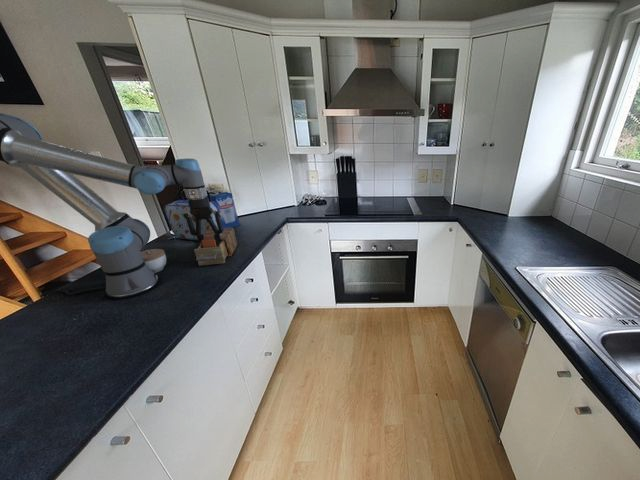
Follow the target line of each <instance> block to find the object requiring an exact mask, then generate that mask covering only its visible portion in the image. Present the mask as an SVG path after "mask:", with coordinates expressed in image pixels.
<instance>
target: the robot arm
mask: <svg viewBox="0 0 640 480" xmlns="http://www.w3.org/2000/svg"><path fill="white" fill-rule="evenodd" d="M0 162H4V163H5V164H6V165H8V166H9V167H14V168H20V169H22V170H23V171H24V172H25V173H27V174H28V175H30V177H32V178H33V179H34V180H36V181H37V182H39V184H41V185H42V186H44V187H45V188H46V189H47V190H49V191H50V192H51V193H53V194H54V195H55V196H57V197H58V198H59V199H61V201H63V202H64V203H65V204H67V205H68V206H69V207H71V208H72V209H73V210H75V211H76V212H77V213H78V214H79V215H80V216H82V217H83V218H85V219H86V220H87V221H89V223H91V224H93V225H94V232H92V233H91V234H90V235H88V238H87V243H88V244H89V248H90V250H91V251H92V253H93V255H94V257H95V259H96V261H97V262H98V265H99V266H100V268H101V270H102V272H103V275H105V285H104V286H97V287H92V288H87V289H83V290H79V291H75V292H74V291H73V292H69V290H66V289H55V290H54V289H52V290H48V291H45V292H43V293H42V294H40V296H39V297H40V298H43V297H45V296H46V295H47V294H48V295H49V294H53V293H55V292H54V291H57V290H59V291H57V292H56V293H65V294H66V295H68V296H73V295H79V294H84V293H87V292H92V291H97V290H103V289H105V293H106V295H107V297H108V298H110V299H114V300H115V299H116V300H119V299H121V300H122V299H128V298H133V297H136V296H140V295H143V294H145V293H147V292H149V291H151V290H152V289H154V288H155V287H156V286H157V285H158V284H159V283H160V280H159V277H158V275H157V274H155V273H153V272H152V271H151V270H150V269H149V268H148V267H147V266H146V264H145V262H144V260H143V257H142V255H141V253H140V252H142V250H143V248H145V246H146V245H147V244H148V242H149V241H150V238H151V230H150V227H149V226H148V225H147V223H145V222H143V221H142V220H140V219H138V218H133V217H132V216H131V215H130V214H128V213H127V212H125V211H124V212H123V211H119V210H117V209H116V208H115V207H113V206H112V205H111V204H110V203H109V202H107V201H106V200H105V199H104V198H103V197H102V196H100V195H99V194H98V193H97V192H95V190H93V189H92V188H91V187H89V185H87V184H86V183H85V182H84V181H83V180H81V179H80V177H84V178H89V179H93V180H99V181H102V182H107V183H110V184H115V185H120V186H124V187H128V188H133V189H137V191H139V192H141V193H143V194H145V195H155V194H158V193H160V192H162V191H164V189H165V188H166V187H168V186H175V185H177V186H178V185H182V188H183V191H184V194H185V198H186V200H187V201H188V204H189V207H190V212H186V213H185V214H183V216H184V217H185V218H186V220H187V223H188V227H189V230H190V233H191V235H195V236H197V239H198V240H197V242H198V243H199V244H200V243H201V244H202V242H201V241H202V240H203V239H204V236H203V234H201V220H202V219H206V221H207V222H208V223H209V225H210V226H211V228H212V230H213V231H214V233H215V234H214V238H215V242H216V245H217V247H219V244H220V242H219V241H221V237H220V233H222V232H223V231H224V230H223V226H222V223H221V219H220V211H219V210H218V211H215V210H213V209H212V208H211V207H210V203H209V202H210V200H209V199H210V198H209V197H208V192H207V188H206V185H205V181H204V177H203V173H202V169H201V167H200V163H199V161H198V160H197V159H195V158H178V159H175V162H174V163H175V164H161V165H151V164H149V165H142V166H139V165H138V166H137V165H134V164H130V163H126V162H122V161H119V160H116V159H111V158H108V157H104V156H100V155H97V154H92V153H89V152H85V151H81V150H77V149H74V148H70V147H66V146H62V145H58V144H55V143H51V142H47V141H43V137H42V134H41V132H40V131H39V130H38V129H37V127H35V126H34V125H33V124H31V123H30V122H29V121H26V120H25V119H23V118H20V117H18V116H15V115H11V114H7V113H1V112H0ZM78 176H80V177H78ZM212 213H213V214H214V216H215V219H216V223H217V226H218V228H217V227H216V225H215V223H214V221H213V220H212V217H211V214H212ZM191 214H192V215H193V216H194V217H195V218H196V231H195V228H194V224H193V221H192V218H191ZM202 247H203V245H202ZM60 290H61V291H60Z"/></svg>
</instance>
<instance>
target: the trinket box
mask: <svg viewBox="0 0 640 480" xmlns="http://www.w3.org/2000/svg"><path fill="white" fill-rule="evenodd" d="M140 253H141V255H142V257H143V260H144V262H145V264H146V266H147V267H148V268H149V269H150V270H151V271H152V272H153V273H154V274H155V273H158V272H161V271H163V270H164V268H165V266H166V264H167V255H166V252H165V250H164V249H162V248H151V249H146V250H143V251H142V250H141V251H140Z"/></svg>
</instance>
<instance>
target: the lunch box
mask: <svg viewBox="0 0 640 480" xmlns="http://www.w3.org/2000/svg"><path fill="white" fill-rule="evenodd" d="M187 200H188V199H177V200H175V201H173V202H171V203H168V204H166V205H165V206H164V208H163V210H164V214H165V216H166V219H167V223H169V226H170V229H171V231H172V233H173V235H174V236H175V237H176V238H179V239H182V240H183V239H184V240H191V241H198V239H197V236H195V235H191V233H190V230H189V227H188V223H187V220H186V218H185V217H184V216H183V214H185V213H186V212H190V207H189V204H188V201H187ZM209 203H210V207H211V208H212V209H213V210H215V211H218V210H219V207H218V206H217V205H216V204H215V203H213V202H211V201H209ZM219 211H220V210H219ZM211 217H212V220H213V221H214V223H215V225H216V227H217V228H218V226H217V223H216V219H215V216H214V214H213V213H212V214H211ZM222 217H223V215H222V213H221V212H220V219H221V223H222ZM191 218H192V221H193V224H194V228H195V231H196V218H195V217H194V216H193V215H192V214H191ZM222 226H223V223H222ZM223 228H224V227H223ZM208 229H212V228H211V226H210V225H209V223H208V222H207V221H206V219H202V220H201V234H203V235H204V233H205V232H206V231H207V230H208Z"/></svg>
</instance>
